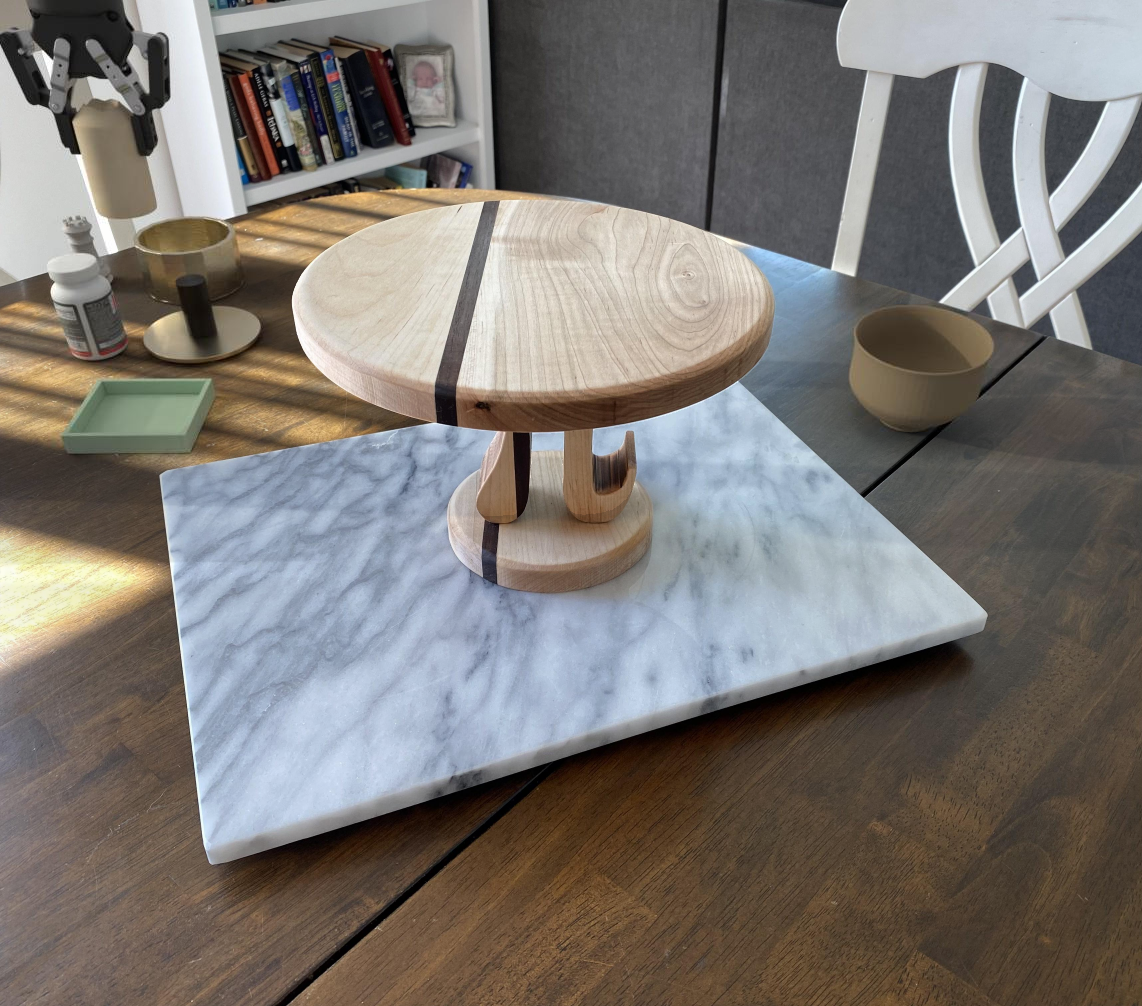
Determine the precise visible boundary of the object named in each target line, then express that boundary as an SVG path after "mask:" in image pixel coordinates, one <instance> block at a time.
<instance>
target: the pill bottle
mask: <svg viewBox="0 0 1142 1006" xmlns="http://www.w3.org/2000/svg"><path fill="white" fill-rule="evenodd" d="M46 269H47V273H48V276H49V278H50V279H51V280H52V281H53V282H54V283H53V284H52V285H51V288H50V296H51V299H52V302H53V305H54V309H55V311H56V313H57V316H58V319H59V321H60V325H61V327H62V331H63V333H64V336H65V339H66V342H67V344H68V348H69V350H70V352H71V354H72V355H73V356H74V357H75V358H77V359H80V360H82V361H102V360H106V359H109V358H112V357H115V356H118V355H120V354H121V353H122V352H123V351H125V350H126V348H127V346H128V343H129V340H128V336H127V333H126V329H125V326H124V323H123V320H122V316H121V314H120V311H119V307H118V304H117V301H116V298H115V295H114V291H113V288H112V285H111V284H110V283H109V281H108V280H107V279H106V278H105V277H103V276H101V275H99V272H100V267H99V264H98V261H97V259H96V257H95V256H93V255H91V254H86V253H73V252H72V253H67V254H62V255H60V256H57V257H54V258H52V259H50V260H49V261H48V262H47V264H46Z"/></svg>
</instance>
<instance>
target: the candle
mask: <svg viewBox="0 0 1142 1006" xmlns="http://www.w3.org/2000/svg"><path fill="white" fill-rule="evenodd" d="M132 114H133V111H132V110H131V109H130V108H128V107H127V106H125V105H124V104H123V103H122V102H120V100H117V99H114V98H109V99H106V100H103V99H101V98H96V97H93V98H91V99H90V100H89V101H88V103H84V102H83V103H82V105H81V107H80V108H79V109H78V111H77V113H76V115H75V116H74V118H73V119H72V123H73V127H74V130H75V134H76V138H77V141H78V145H79V149H80V152H81V156H80V157H81V159H82V163H83V166H84V169H85V174H86V178H87V181H88V185H89V188H90V192H91V196H92V199H93V203H94V206H95V210H96V212H97V214H98V215H99V216H101V217H103V218H106V219H112V220H128V219H136V218H141V217H145V216H147V215H151V213H153V212H155V211H156V210H157V209H158V202H157V197H156V192H155V188H154V184H153V180H152V175H151V172H150V171H151V170H150V167H149V161H148V158H147V156H141V155H140V153H139V149H138V145H137V141H136V137H135V133H134V128H133V124H132V120H131V115H132Z"/></svg>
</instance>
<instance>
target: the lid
mask: <svg viewBox="0 0 1142 1006" xmlns="http://www.w3.org/2000/svg"><path fill="white" fill-rule="evenodd" d="M175 283H176V287H177V291H178V295H179V299H180V303H181V305H180V306H181V310H179V311H176V312H172V313H170V314H168V315H166V316H163V317H161V318H159V319H158V320H156V321H155V322H154V323H151V325H150V326H149V327H147V329H146V330H145V332H144V334H143V336H142V342H143V345H144V349H145V350H146V351H147V352H148V353H149V354H150V355H152V356H153V357H155V358H157V359H160V360H162V361H165V362H171V363H177V364H178V363H180V364H199V363H207V362H214V361H219V360H222V359H226V358H229V357H232V356H235V355H237V354H240V353H241V352H244V351H246V350H247V349H249V348H250V347H251V346H253V345H254V344H256V342H257V341H258V340H259V338H260V336H261V333H262V325H261V321H260V320H259V318H258V317H257V316H256V315H255V314H253V313H252V312H250V311H248V310H246V309H245V310H244V309H242V308H239V307H234V306H227V305H226V306H225V305H212V302H211V301H210V297H209V292H208V288H207V284H206V279H205V277H204V276H202V275H198V274H189V275H184V276H181V277H179V278H178V279H176V281H175Z"/></svg>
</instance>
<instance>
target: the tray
mask: <svg viewBox="0 0 1142 1006" xmlns="http://www.w3.org/2000/svg"><path fill="white" fill-rule="evenodd" d="M216 397H217V392H216V389H215V384H214V380H213V378H98V379H97V381H96V382H95V383H94V385H93V387H92V388H91V389H90V391H89V393H88V394H87V395H86V397H85V399H84V400H83V402H82V403H81V405H80V406H79V407H78V409H77V410H76V411H75V414H74V415H73V417H72V418H71V419H70V421H69V423H68V425H66V427H65V429H64V430H63V432H62V433H61V435H60V438H61V440H62V443H63V446H64V448H65V451H66V454H68V455H69V454H70V455H73V454H74V455H77V454H81V455H83V454H85V455H88V454H89V455H90V454H185V453H186V454H190V453H191V452H192V449H193V447H194V445H195V443H196V441H197V438H198V437H199V434H200V432H201V429H202V427H203V425H204V423H205V422H206V419H207V417H208V415H209V412H210V410H211V408H212V406H213V404H214V401H215V398H216Z"/></svg>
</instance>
